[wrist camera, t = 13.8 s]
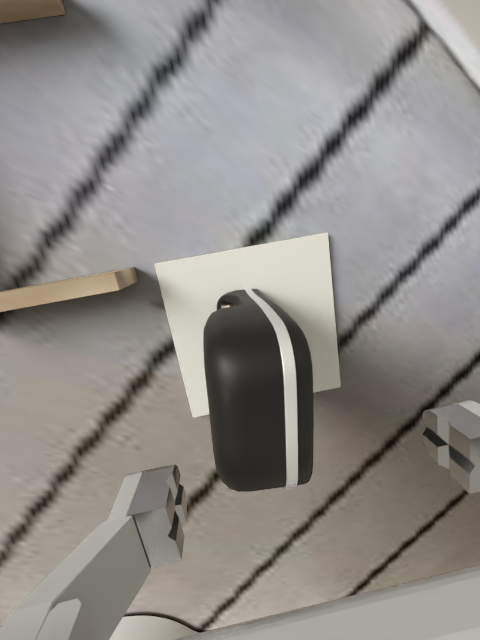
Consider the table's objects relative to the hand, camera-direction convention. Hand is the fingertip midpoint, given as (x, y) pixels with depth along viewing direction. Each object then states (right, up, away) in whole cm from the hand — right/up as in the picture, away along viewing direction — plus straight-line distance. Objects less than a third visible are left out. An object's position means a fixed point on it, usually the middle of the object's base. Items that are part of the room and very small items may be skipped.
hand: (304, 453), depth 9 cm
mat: (-1, +4, +12) cm, 13 cm away
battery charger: (-2, +3, +12) cm, 12 cm away
